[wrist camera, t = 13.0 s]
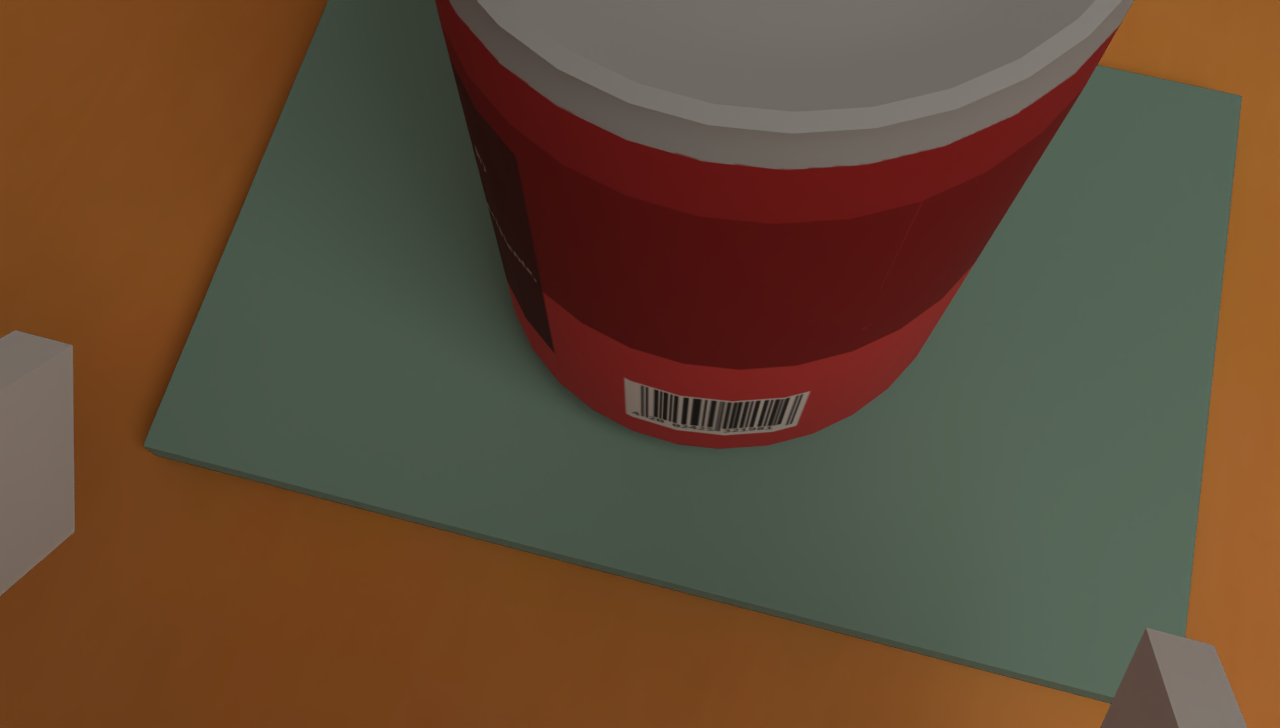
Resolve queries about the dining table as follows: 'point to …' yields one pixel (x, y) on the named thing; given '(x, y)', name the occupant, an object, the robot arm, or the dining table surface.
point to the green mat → (748, 476)
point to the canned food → (753, 187)
